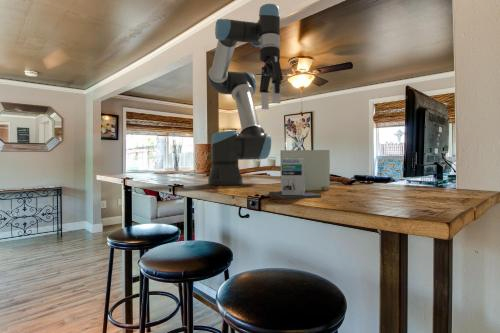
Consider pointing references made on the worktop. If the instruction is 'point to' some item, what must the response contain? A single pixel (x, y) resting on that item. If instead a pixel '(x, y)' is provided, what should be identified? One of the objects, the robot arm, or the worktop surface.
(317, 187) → the screen
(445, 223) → the worktop surface
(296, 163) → the light bulb box
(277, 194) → the mat
